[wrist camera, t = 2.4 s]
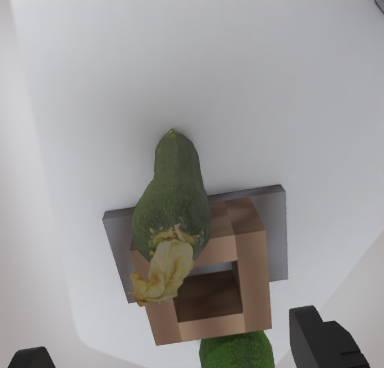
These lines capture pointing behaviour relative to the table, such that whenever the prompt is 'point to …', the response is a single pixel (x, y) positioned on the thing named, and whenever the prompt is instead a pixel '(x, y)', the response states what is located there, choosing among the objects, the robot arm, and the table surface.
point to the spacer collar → (215, 268)
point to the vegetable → (170, 220)
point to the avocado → (237, 351)
